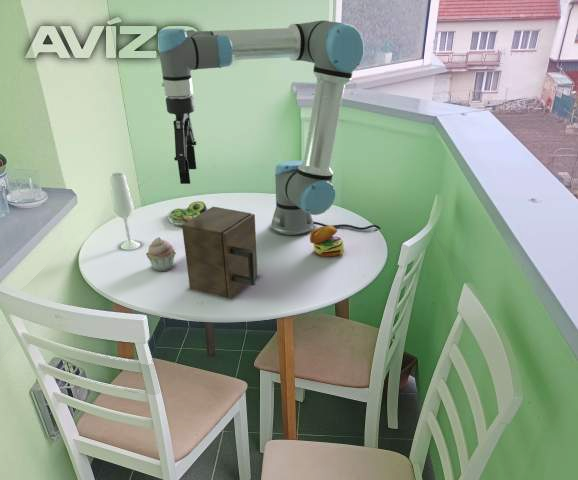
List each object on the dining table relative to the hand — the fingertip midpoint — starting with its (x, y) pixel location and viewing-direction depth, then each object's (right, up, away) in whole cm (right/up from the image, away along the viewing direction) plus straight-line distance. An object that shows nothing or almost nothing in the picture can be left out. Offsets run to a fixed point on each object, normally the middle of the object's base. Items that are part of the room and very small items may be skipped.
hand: (188, 176), depth 166 cm
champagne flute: (-25, -14, +29) cm, 41 cm away
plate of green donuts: (-8, +1, +49) cm, 49 cm away
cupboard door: (+19, -33, +2) cm, 38 cm away
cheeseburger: (+42, -17, +24) cm, 51 cm away
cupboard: (+9, -30, +6) cm, 32 cm away
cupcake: (-11, -24, +15) cm, 30 cm away
